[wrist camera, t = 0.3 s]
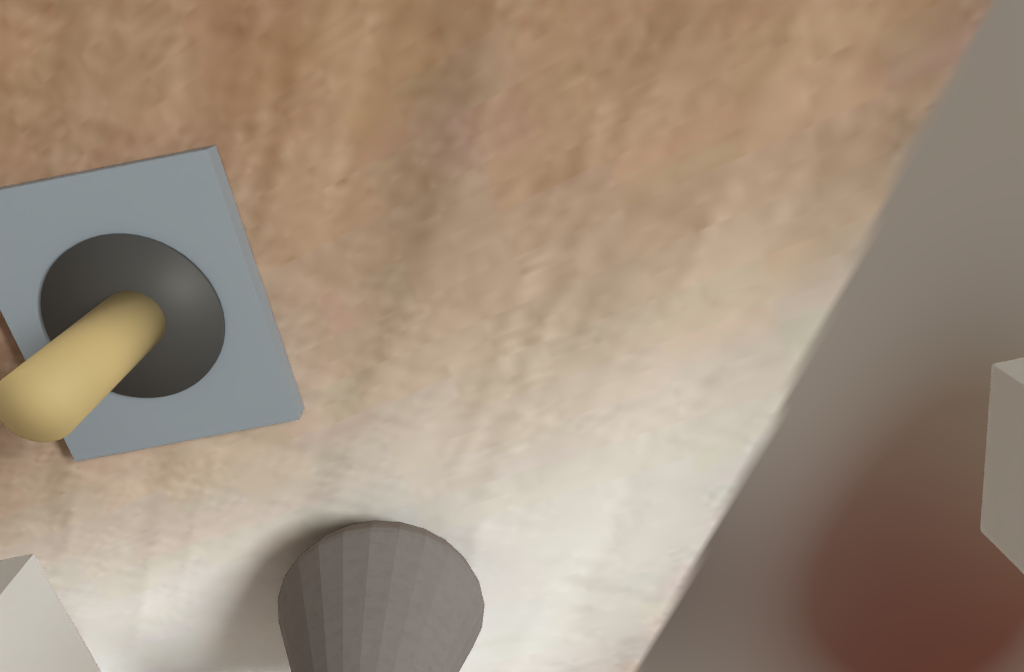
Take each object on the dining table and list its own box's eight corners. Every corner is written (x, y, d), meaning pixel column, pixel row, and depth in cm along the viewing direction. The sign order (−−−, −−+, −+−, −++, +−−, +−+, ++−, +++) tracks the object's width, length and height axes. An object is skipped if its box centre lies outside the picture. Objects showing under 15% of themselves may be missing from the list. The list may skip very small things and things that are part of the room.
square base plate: (-38, 194, 34) (-228, 260, 25) (215, 145, 34) (119, 192, 25) (86, 449, 40) (-33, 581, 30) (304, 408, 40) (252, 528, 30)
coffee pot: (502, 513, 43) (518, 746, 29) (462, 659, 47) (459, 923, 33) (117, 451, 40) (-69, 677, 26) (111, 613, 44) (-51, 881, 30)
